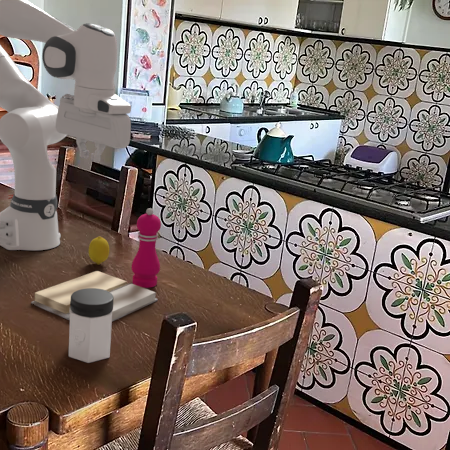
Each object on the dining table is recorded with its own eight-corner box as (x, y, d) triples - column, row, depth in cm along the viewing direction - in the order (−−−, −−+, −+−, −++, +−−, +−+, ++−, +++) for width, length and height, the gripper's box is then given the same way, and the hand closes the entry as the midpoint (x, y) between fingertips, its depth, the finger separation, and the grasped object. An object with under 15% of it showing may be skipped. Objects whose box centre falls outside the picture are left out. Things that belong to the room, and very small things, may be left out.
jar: (58, 354, 120) (59, 297, 117) (82, 338, 128) (84, 284, 124) (97, 367, 117) (100, 309, 114) (120, 349, 125) (123, 294, 121)
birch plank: (34, 300, 141) (34, 292, 141) (96, 278, 158) (96, 270, 157) (66, 313, 136) (66, 305, 136) (126, 288, 153) (126, 281, 152)
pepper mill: (153, 290, 155) (159, 214, 149) (126, 285, 156) (131, 209, 150) (162, 280, 162) (168, 207, 156) (136, 276, 163) (140, 202, 157)
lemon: (94, 269, 164) (95, 240, 162) (84, 262, 168) (85, 234, 166) (112, 266, 168) (114, 238, 166) (102, 259, 172) (103, 232, 169)
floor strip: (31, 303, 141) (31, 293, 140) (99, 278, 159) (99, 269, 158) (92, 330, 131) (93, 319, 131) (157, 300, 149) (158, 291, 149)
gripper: (50, 92, 143) (47, 151, 147) (118, 108, 133) (113, 170, 137) (71, 92, 148) (67, 149, 152) (137, 107, 138) (131, 167, 142)
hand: (89, 159), depth 144 cm, fingers open, 2 cm apart
